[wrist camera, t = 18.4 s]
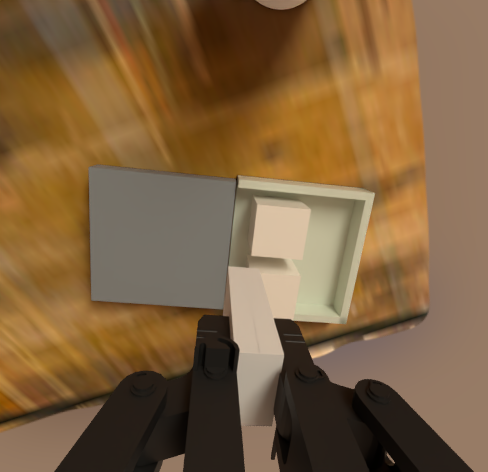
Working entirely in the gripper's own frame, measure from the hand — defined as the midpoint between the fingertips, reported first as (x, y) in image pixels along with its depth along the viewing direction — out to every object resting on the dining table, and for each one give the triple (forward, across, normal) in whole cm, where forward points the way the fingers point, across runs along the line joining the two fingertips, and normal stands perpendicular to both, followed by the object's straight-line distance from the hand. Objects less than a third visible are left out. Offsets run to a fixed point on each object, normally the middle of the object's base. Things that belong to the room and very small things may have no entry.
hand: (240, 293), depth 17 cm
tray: (+21, +8, -4) cm, 22 cm away
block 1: (+20, +5, -1) cm, 21 cm away
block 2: (+20, +5, -8) cm, 22 cm away
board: (+21, -6, -4) cm, 22 cm away
